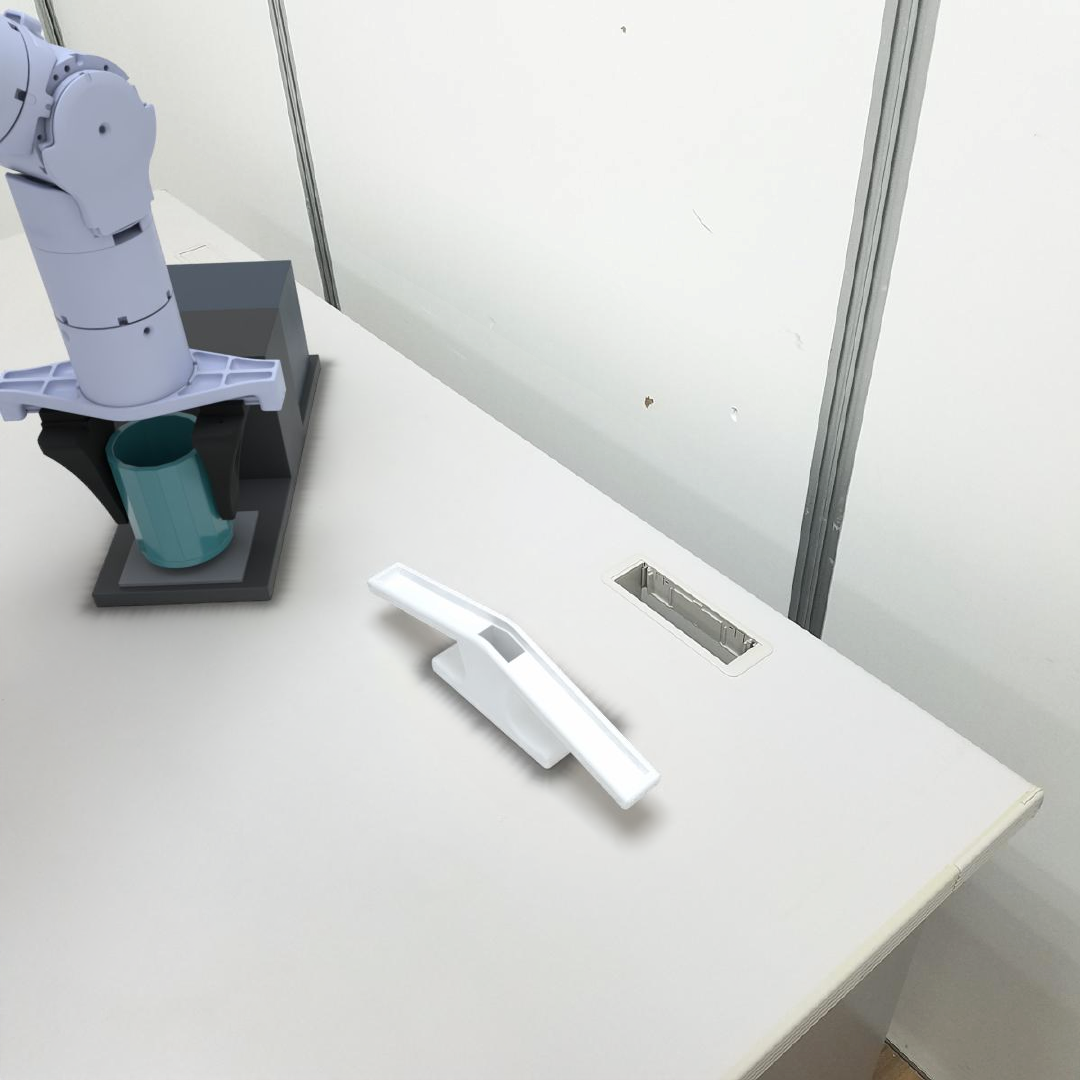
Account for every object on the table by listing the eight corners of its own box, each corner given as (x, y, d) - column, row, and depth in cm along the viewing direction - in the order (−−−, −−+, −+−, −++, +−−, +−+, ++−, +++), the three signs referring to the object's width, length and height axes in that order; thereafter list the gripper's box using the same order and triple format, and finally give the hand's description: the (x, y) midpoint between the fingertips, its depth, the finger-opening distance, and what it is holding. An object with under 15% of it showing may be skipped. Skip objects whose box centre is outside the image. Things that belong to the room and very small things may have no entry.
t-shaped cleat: (428, 581, 66) (418, 509, 62) (685, 790, 55) (692, 716, 51) (371, 616, 64) (358, 543, 60) (626, 840, 53) (629, 767, 49)
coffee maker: (271, 600, 65) (234, 461, 59) (95, 607, 65) (39, 468, 58) (321, 365, 83) (297, 239, 77) (184, 370, 83) (149, 245, 77)
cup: (148, 579, 64) (113, 482, 59) (132, 522, 68) (98, 426, 63) (243, 551, 65) (217, 454, 61) (223, 497, 69) (196, 401, 64)
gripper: (273, 254, 59) (315, 462, 68) (-7, 265, 59) (72, 472, 68) (251, 326, 54) (299, 541, 63) (-57, 338, 54) (36, 551, 63)
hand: (179, 510), depth 65 cm, fingers closed on cup, 5 cm apart
